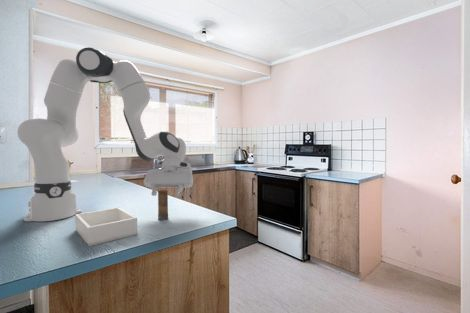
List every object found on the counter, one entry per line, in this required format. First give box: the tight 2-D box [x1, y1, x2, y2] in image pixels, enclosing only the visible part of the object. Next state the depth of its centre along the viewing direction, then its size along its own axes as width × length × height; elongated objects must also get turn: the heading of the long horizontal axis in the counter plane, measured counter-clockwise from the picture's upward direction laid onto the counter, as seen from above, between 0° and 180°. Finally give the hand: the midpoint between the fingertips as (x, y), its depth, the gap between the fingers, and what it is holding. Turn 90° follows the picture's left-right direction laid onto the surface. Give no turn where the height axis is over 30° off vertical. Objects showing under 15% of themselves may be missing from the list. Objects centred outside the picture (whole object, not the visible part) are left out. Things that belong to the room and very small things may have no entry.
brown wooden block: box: [157, 189, 169, 221], centre depth 96 cm, size 4×4×11 cm
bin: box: [74, 206, 138, 247], centre depth 82 cm, size 18×14×6 cm
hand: (165, 195), depth 99 cm, fingers open, 8 cm apart
